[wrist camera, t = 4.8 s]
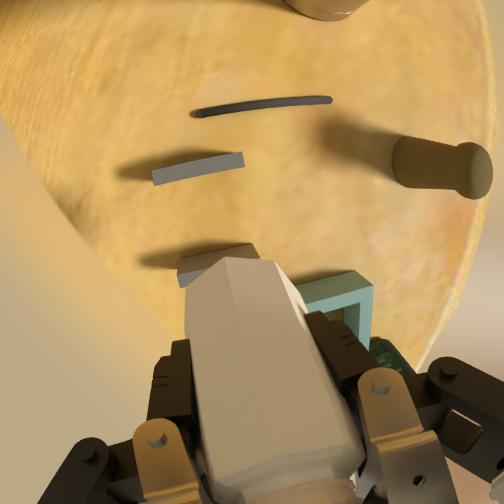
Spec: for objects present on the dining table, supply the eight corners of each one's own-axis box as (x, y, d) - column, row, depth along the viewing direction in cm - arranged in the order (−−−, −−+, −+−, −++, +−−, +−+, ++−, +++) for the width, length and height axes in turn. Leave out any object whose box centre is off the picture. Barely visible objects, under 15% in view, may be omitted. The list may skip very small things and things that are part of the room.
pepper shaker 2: (399, 195, 28) (472, 217, 18) (385, 144, 26) (462, 147, 16) (433, 178, 28) (503, 194, 18) (421, 131, 26) (494, 132, 16)
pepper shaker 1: (162, 274, 11) (104, 577, 1) (286, 236, 12) (503, 472, 1) (204, 367, 13) (229, 587, 3) (307, 336, 14) (417, 532, 3)
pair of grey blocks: (159, 169, 23) (151, 170, 20) (236, 152, 24) (242, 151, 20) (183, 269, 27) (180, 288, 23) (254, 255, 27) (262, 270, 24)
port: (243, 297, 29) (250, 320, 25) (354, 270, 30) (375, 286, 26) (257, 364, 32) (265, 390, 28) (353, 337, 33) (369, 357, 29)
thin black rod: (197, 119, 22) (196, 118, 22) (195, 111, 22) (195, 109, 21) (331, 104, 24) (334, 103, 23) (329, 96, 23) (333, 95, 23)
